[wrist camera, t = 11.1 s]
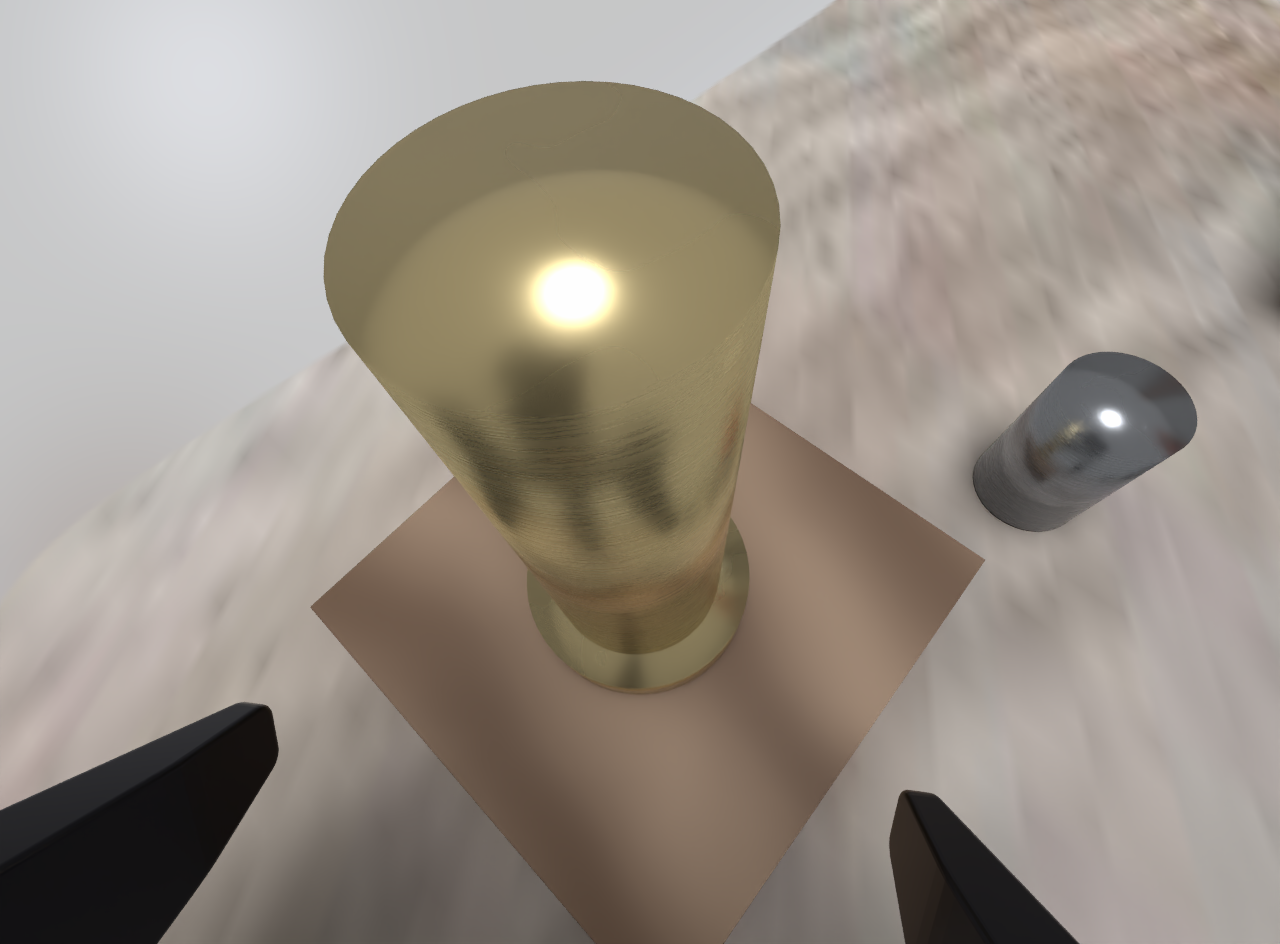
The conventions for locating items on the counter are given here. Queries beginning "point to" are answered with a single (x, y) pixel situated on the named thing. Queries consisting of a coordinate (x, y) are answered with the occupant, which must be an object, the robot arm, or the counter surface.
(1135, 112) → the counter surface
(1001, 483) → the steel spacers
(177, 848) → the robot arm
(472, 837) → the counter surface
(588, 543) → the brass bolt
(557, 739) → the walnut board
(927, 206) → the counter surface
